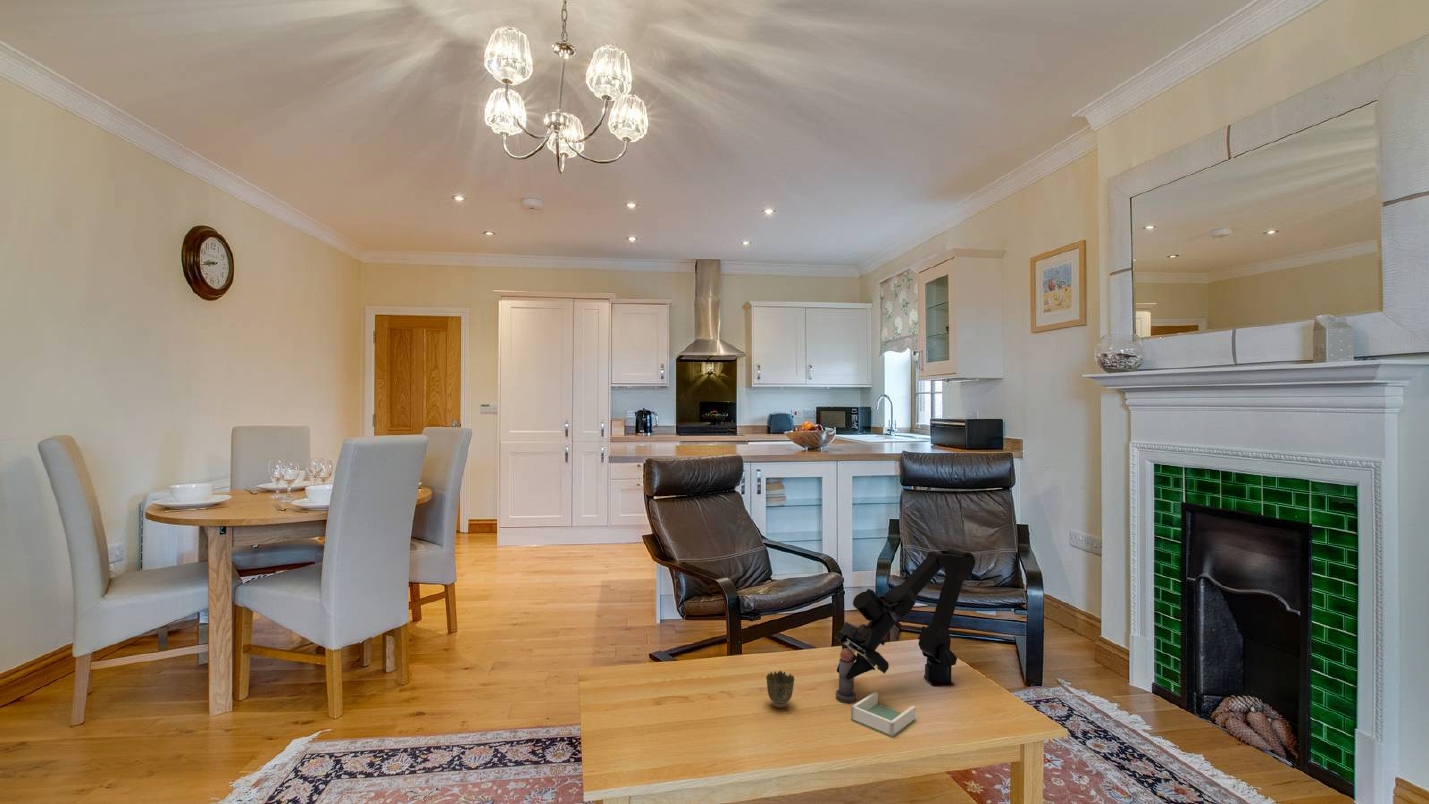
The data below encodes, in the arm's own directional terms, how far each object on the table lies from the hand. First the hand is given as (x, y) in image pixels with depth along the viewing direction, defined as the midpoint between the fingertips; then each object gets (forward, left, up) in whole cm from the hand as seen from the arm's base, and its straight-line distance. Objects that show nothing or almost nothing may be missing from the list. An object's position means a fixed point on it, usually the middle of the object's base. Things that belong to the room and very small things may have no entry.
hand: (842, 675), depth 171 cm
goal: (-7, +12, -7) cm, 15 cm away
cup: (+18, +3, -7) cm, 19 cm away
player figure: (-1, 0, -7) cm, 7 cm away
